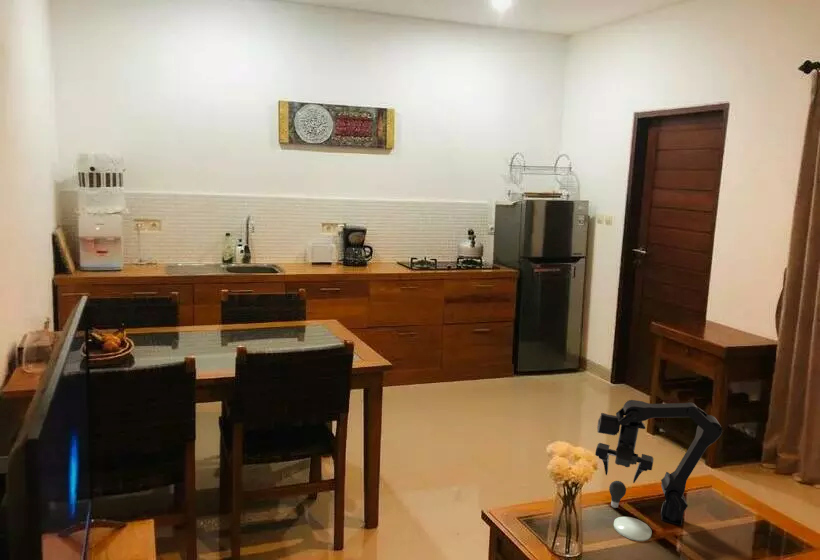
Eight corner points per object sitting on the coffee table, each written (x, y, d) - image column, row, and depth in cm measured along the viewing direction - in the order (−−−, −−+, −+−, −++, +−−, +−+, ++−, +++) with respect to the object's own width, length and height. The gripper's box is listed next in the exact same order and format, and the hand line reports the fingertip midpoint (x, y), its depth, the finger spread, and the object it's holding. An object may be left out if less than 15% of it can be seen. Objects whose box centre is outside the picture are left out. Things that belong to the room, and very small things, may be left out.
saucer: (652, 526, 222) (652, 523, 222) (650, 545, 211) (650, 542, 211) (615, 515, 226) (616, 512, 226) (611, 533, 216) (612, 530, 215)
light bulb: (623, 513, 228) (628, 487, 226) (606, 510, 229) (611, 484, 227) (621, 504, 234) (626, 479, 231) (605, 501, 235) (610, 476, 232)
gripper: (597, 439, 221) (589, 481, 225) (655, 454, 215) (646, 497, 218) (601, 426, 231) (593, 467, 235) (657, 441, 225) (648, 482, 228)
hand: (620, 478), depth 229 cm, fingers open, 9 cm apart
